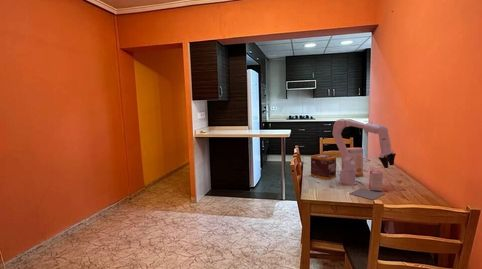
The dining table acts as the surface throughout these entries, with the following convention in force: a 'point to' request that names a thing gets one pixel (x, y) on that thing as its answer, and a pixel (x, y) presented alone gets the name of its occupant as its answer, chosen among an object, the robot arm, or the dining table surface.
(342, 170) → the robot arm
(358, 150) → the cracker box
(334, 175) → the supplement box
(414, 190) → the dining table surface
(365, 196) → the mat
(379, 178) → the supplement box
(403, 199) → the dining table surface
